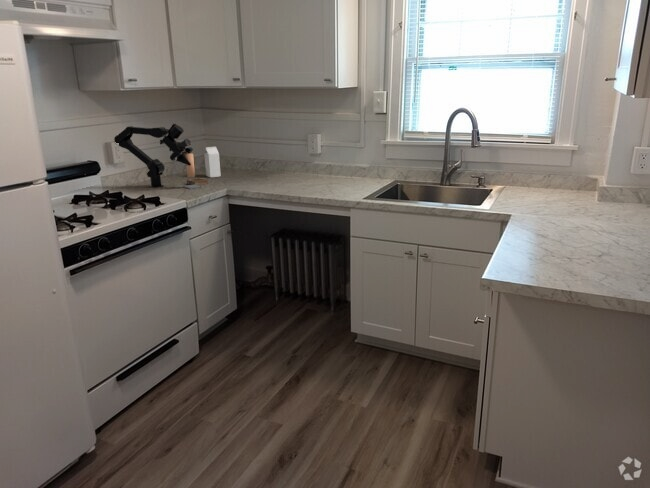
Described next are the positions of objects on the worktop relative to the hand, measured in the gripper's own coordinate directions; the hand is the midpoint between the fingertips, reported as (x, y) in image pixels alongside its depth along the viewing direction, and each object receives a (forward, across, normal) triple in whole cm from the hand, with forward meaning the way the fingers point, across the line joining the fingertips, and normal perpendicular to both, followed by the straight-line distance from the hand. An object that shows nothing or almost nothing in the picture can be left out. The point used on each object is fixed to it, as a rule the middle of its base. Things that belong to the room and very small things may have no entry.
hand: (192, 164), depth 285 cm
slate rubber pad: (+9, 0, +10) cm, 13 cm away
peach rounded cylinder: (+4, 0, +6) cm, 7 cm away
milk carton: (+7, +37, +13) cm, 40 cm away
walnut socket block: (+7, +11, +12) cm, 18 cm away
